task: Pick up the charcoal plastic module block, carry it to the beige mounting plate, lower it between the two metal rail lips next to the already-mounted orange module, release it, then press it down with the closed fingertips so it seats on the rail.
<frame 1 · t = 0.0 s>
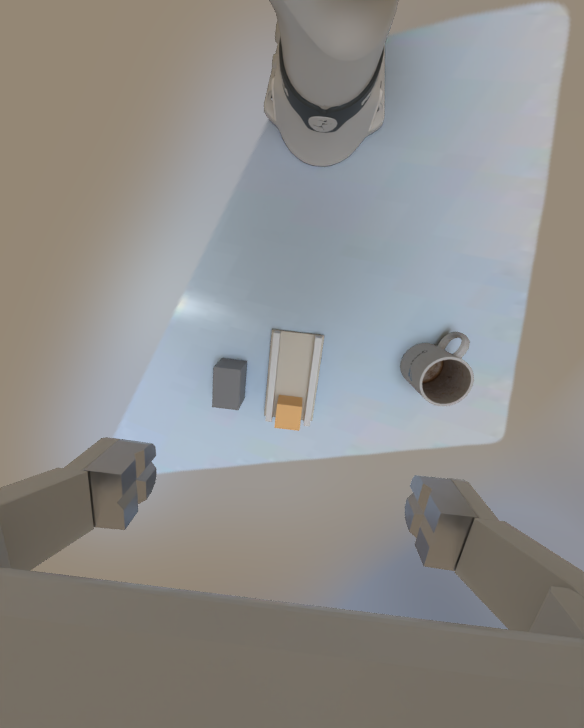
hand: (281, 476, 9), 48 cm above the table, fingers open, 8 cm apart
module: (233, 378, 60), on the table
rail: (293, 375, 59), on the table
mug: (429, 357, 57), on the table
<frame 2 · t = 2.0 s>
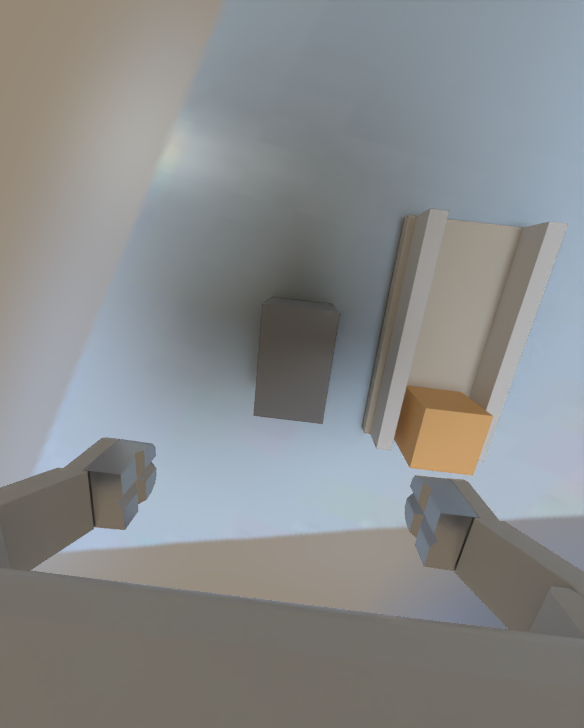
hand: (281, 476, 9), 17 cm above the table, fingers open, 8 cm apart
module: (296, 346, 26), on the table
rail: (439, 340, 25), on the table
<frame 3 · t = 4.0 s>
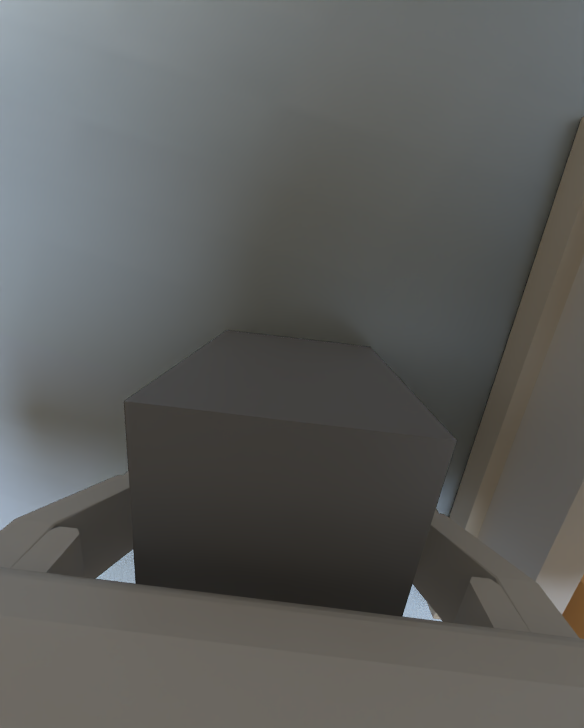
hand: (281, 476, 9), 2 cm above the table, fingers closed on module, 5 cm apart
module: (286, 439, 11), on the table, touching gripper
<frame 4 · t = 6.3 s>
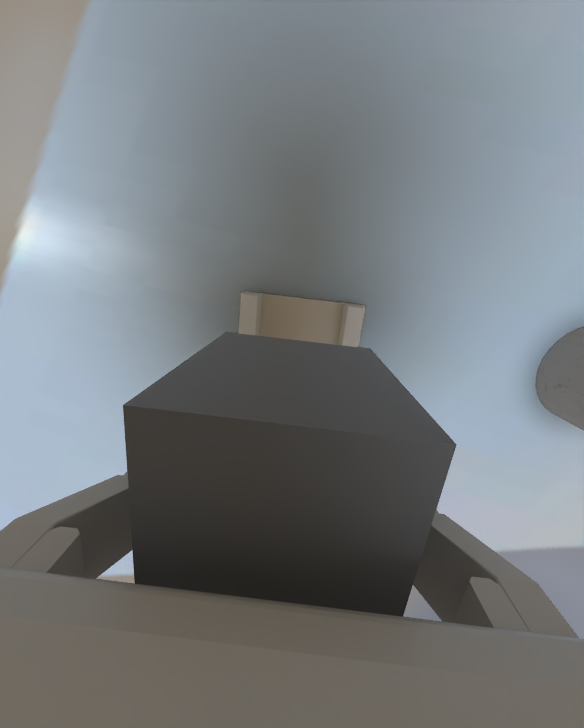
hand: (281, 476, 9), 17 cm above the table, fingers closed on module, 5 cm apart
module: (286, 441, 11), point 15 cm above the table, touching gripper
rail: (291, 398, 27), on the table
when the fingers open (5 cm above the table, at t = 9.0 s): module drops 1 cm, resting on rail.
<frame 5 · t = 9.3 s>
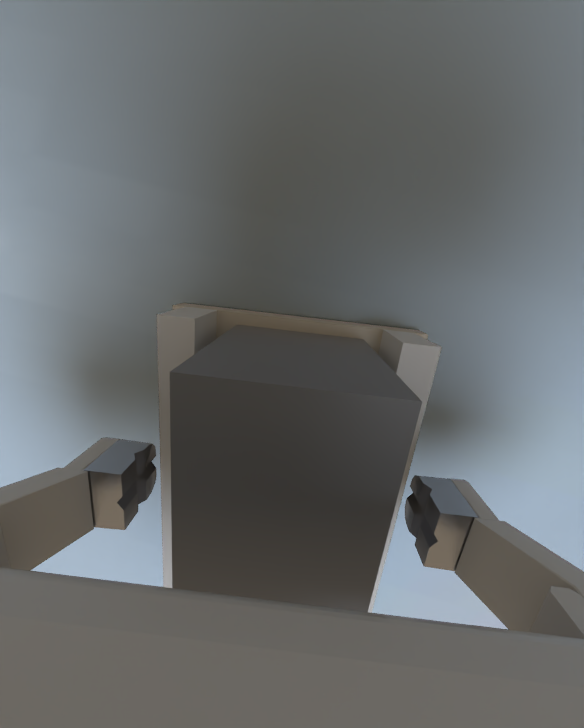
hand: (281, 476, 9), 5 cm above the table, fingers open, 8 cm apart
module: (289, 422, 13), point 1 cm above the table, touching rail
rail: (279, 492, 15), on the table
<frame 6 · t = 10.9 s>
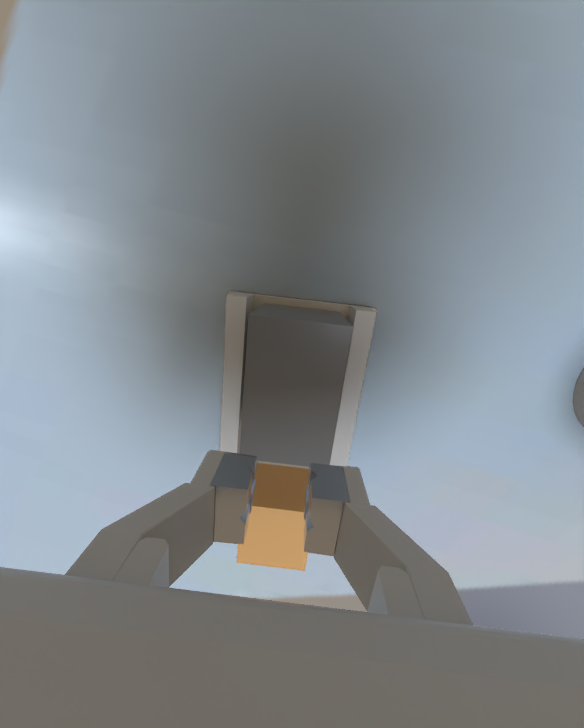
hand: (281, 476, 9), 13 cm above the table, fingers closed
module: (295, 364, 21), point 1 cm above the table, touching rail
rail: (288, 414, 23), on the table
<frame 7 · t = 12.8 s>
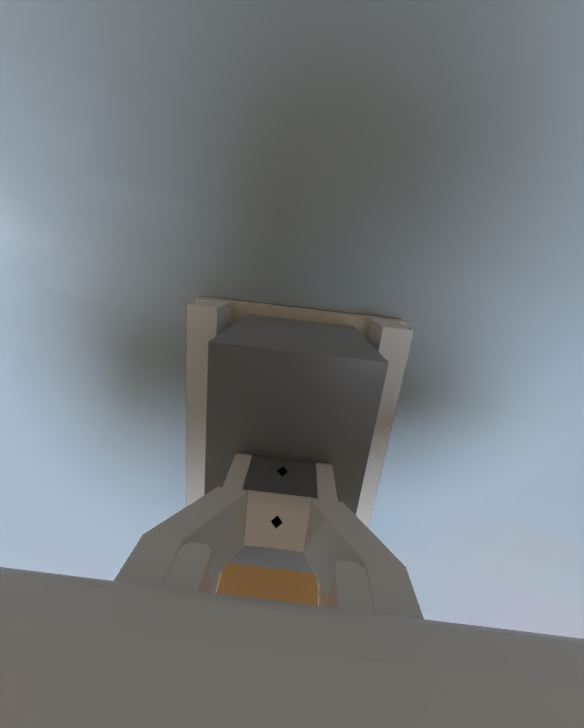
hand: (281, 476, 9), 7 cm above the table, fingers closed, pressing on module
module: (291, 397, 15), point 1 cm above the table, touching gripper, rail
rail: (283, 461, 17), on the table
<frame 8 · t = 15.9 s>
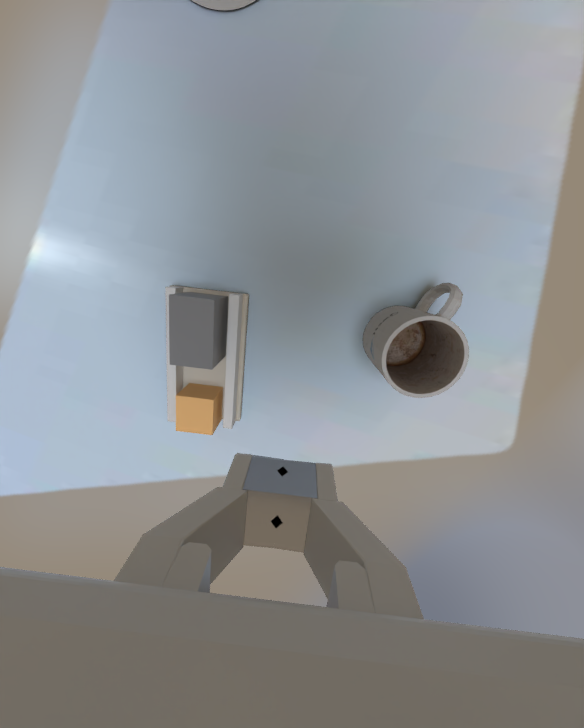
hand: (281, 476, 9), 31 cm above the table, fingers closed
module: (208, 324, 39), point 1 cm above the table, touching rail
rail: (209, 355, 41), on the table
mug: (405, 327, 39), on the table
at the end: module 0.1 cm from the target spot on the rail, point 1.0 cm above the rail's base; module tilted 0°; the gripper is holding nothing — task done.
